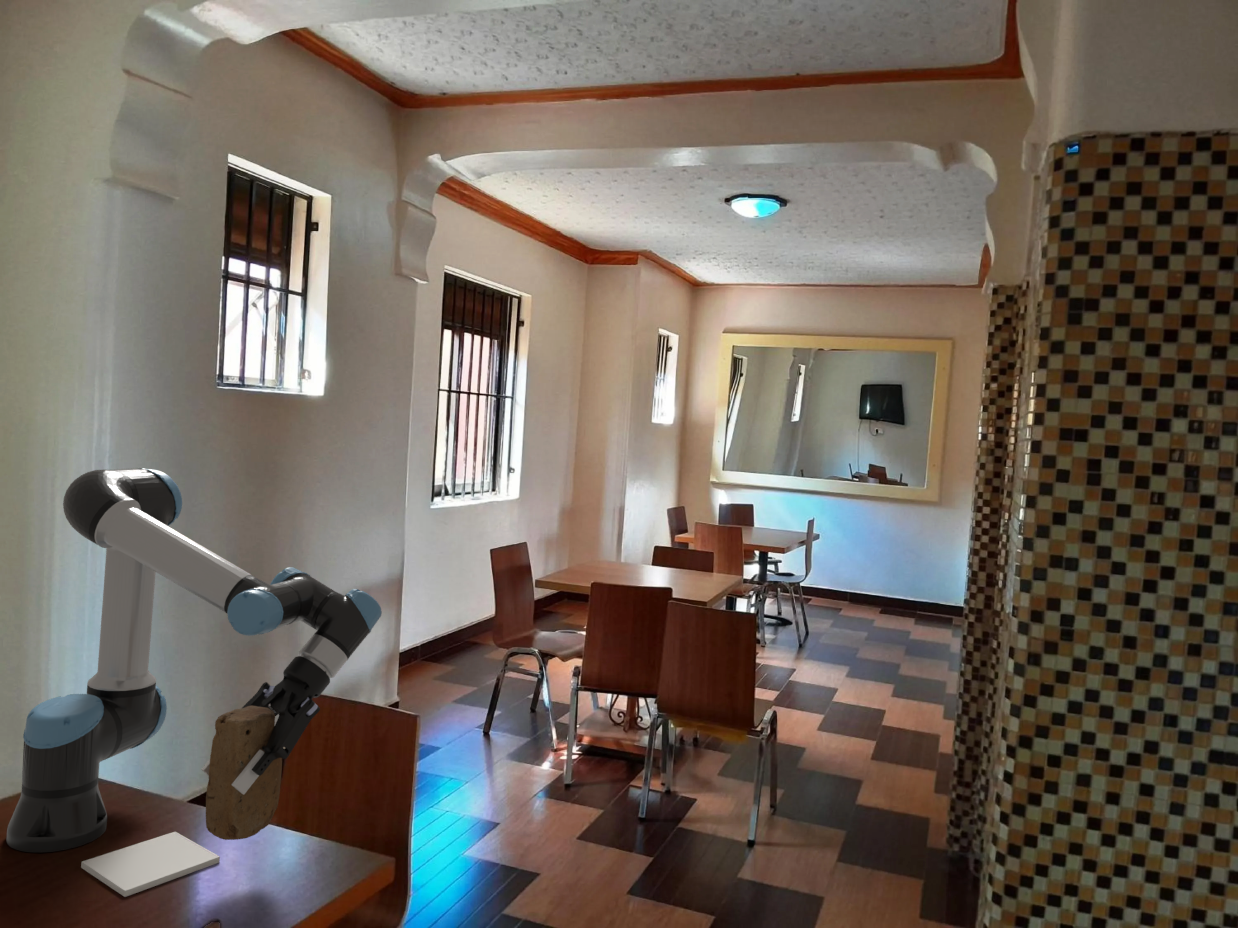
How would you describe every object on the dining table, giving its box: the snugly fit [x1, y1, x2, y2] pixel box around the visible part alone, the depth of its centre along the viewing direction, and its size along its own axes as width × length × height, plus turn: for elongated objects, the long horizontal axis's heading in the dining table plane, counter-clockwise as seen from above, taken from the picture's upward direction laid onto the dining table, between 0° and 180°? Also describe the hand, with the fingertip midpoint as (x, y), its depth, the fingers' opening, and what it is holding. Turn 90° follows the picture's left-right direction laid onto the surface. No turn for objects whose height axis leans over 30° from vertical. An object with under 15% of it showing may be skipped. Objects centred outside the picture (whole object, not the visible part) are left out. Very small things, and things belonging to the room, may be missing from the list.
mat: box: [80, 831, 221, 898], centre depth 153 cm, size 14×16×1 cm
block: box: [205, 706, 283, 841], centre depth 151 cm, size 11×8×20 cm
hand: (222, 781), depth 147 cm, fingers closed on block, 8 cm apart
